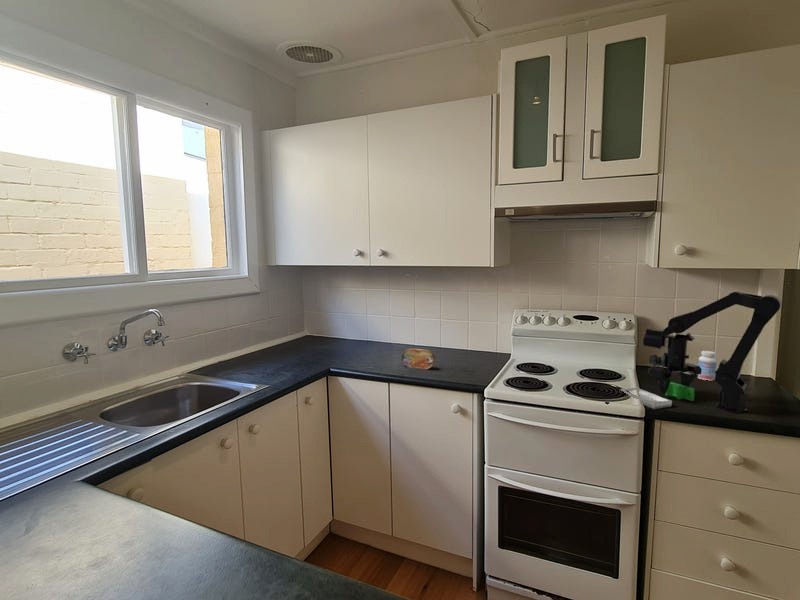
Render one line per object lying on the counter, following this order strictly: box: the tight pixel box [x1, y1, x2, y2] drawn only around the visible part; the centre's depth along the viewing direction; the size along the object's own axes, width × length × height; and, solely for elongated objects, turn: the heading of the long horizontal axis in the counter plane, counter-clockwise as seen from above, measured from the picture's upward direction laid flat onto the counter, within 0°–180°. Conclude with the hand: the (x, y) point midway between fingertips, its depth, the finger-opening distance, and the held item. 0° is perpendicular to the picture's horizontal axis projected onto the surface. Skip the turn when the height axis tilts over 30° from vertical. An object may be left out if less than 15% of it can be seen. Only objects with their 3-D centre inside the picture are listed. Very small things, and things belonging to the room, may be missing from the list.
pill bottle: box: [697, 350, 718, 382], centre depth 178 cm, size 6×6×11 cm
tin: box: [401, 347, 436, 370], centre depth 192 cm, size 15×3×8 cm, turn 65°
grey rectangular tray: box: [619, 387, 673, 410], centre depth 153 cm, size 15×8×2 cm, turn 18°
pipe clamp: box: [665, 381, 696, 402], centre depth 158 cm, size 11×4×5 cm, turn 25°
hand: (673, 393), depth 157 cm, fingers open, 9 cm apart
